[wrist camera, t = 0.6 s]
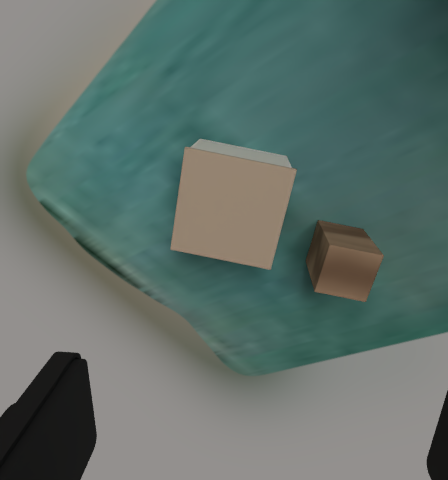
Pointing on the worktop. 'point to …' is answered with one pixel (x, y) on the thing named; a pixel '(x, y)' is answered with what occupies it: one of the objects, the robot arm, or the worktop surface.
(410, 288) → the worktop surface
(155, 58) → the worktop surface
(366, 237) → the walnut block
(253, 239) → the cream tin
